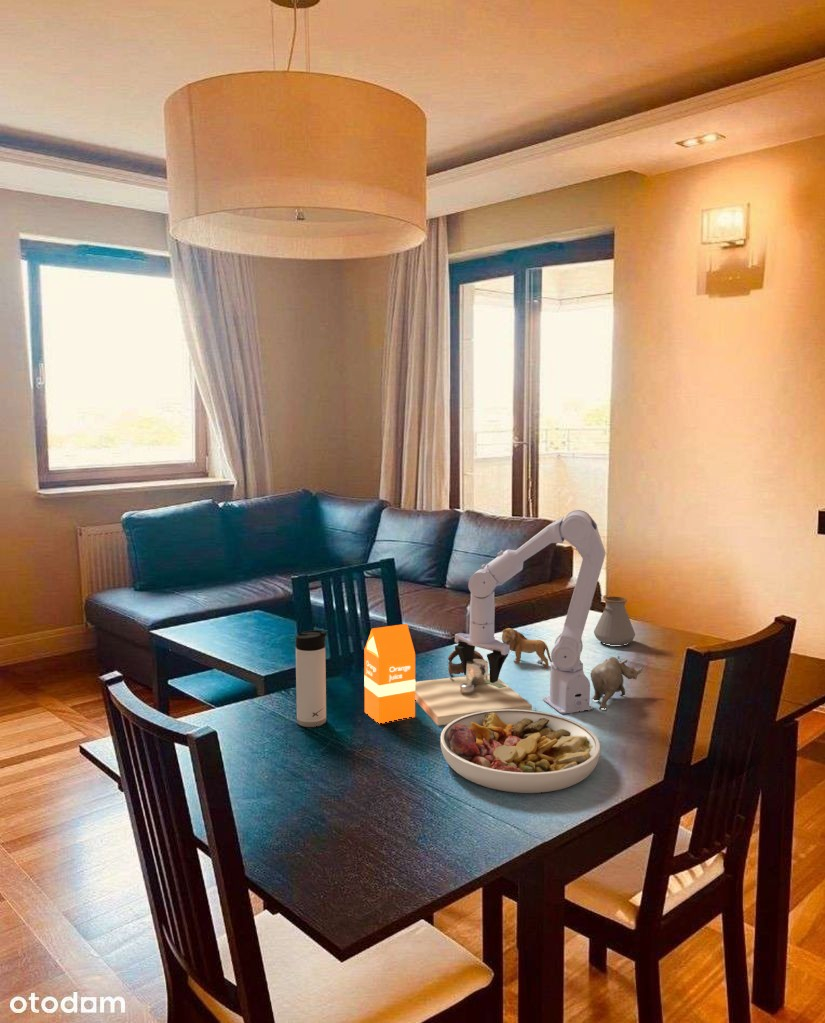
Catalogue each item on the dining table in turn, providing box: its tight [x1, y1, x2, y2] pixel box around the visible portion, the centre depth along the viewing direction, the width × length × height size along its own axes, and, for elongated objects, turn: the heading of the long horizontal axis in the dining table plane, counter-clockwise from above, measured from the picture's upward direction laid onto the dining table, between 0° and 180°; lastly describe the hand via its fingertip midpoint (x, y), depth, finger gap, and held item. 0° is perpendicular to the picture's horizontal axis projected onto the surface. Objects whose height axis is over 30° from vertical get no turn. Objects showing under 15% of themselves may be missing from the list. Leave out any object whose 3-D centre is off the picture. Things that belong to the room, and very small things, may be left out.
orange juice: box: [363, 623, 416, 725], centre depth 177 cm, size 8×9×20 cm
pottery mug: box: [447, 649, 485, 676], centre depth 205 cm, size 12×10×8 cm
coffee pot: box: [590, 596, 636, 645], centre depth 227 cm, size 21×12×15 cm, turn 137°
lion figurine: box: [501, 627, 552, 669], centre depth 213 cm, size 15×5×9 cm, turn 70°
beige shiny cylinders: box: [460, 659, 489, 694], centre depth 188 cm, size 11×5×5 cm, turn 151°
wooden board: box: [415, 673, 533, 726], centre depth 186 cm, size 22×22×2 cm
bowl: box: [440, 709, 601, 794], centre depth 154 cm, size 30×30×8 cm
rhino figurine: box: [590, 655, 644, 709], centre depth 187 cm, size 8×14×15 cm
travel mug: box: [295, 629, 328, 728], centre depth 172 cm, size 6×7×20 cm
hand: (480, 677), depth 189 cm, fingers open, 7 cm apart
